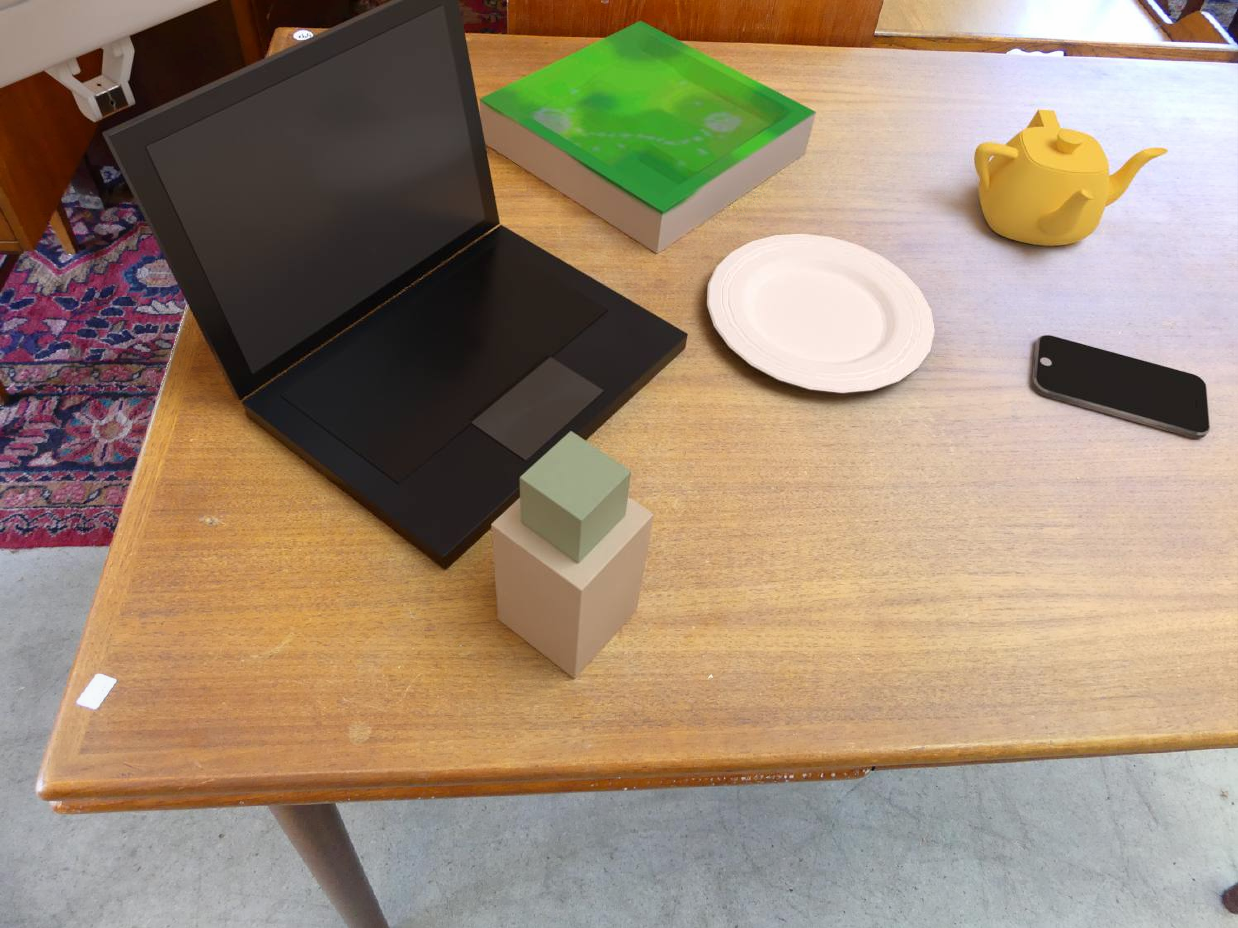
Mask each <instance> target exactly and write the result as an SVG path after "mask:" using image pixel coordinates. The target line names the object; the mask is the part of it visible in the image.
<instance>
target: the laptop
mask: <svg viewBox="0 0 1238 928" xmlns="http://www.w3.org/2000/svg"><path fill="white" fill-rule="evenodd" d="M688 335H689V334H688V333H687V332H685V331H684V330H682V329H681V328H679V327H677V326H675V325H674V324H672V323H671V322H668V321H667V320H665V319H664V318H662V317H660V316H658V315H656V314H655V313H653V312H652V311H650V310H648V309H646V308H644V307H643V306H641V305H640V304H638V303H636V302H634V301H633V300H631V299H629V298H628V297H626V296H624V295H622V294H621V293H619V292H617V291H616V290H614V289H612V288H610V287H609V286H607V285H606V284H604V283H601V282H600V281H599V280H597V279H595V278H593V277H591V276H590V275H589V274H587V273H585V272H583V271H582V270H580V269H578V268H577V267H575V266H573V265H571V264H569V263H567V261H564V260H562V259H561V258H559V257H557V256H555V255H554V254H552V253H550V252H548V251H547V250H545V249H544V248H542V247H541V246H539V245H537V244H535V243H534V242H532V241H530V240H528V239H527V238H526V237H523V236H521V235H520V234H518V233H517V232H515V231H514V230H512V229H509V228H508V227H506V226H504V225H503V224H499V225H497V226H496V227H494V228H493V229H491V230H490V231H489V232H487V233H486V234H484V235H483V236H481V237H480V238H478V239H477V240H475V241H474V242H472V243H471V244H469V245H468V246H467V247H465V248H464V249H462V250H461V251H459V252H458V253H456V254H455V255H453V256H452V257H450V258H449V259H448V260H446V261H445V262H443V263H442V264H440V265H439V266H437V267H436V268H434V269H433V270H431V271H430V272H428V273H427V274H426V275H424V276H423V277H421V278H420V279H418V280H417V281H415V282H414V283H412V284H411V285H409V286H408V287H407V288H405V289H404V290H402V291H401V292H399V293H398V294H396V295H395V296H393V297H392V298H390V299H389V300H387V301H386V302H385V303H383V304H382V305H380V306H379V307H377V308H376V309H374V310H373V311H371V312H370V313H368V314H367V315H366V316H364V317H363V318H361V319H360V320H358V321H357V322H355V323H354V324H352V325H351V326H349V327H348V328H346V329H345V330H344V331H342V332H341V333H339V334H338V335H336V336H335V337H333V338H332V339H330V340H329V341H327V342H326V343H325V344H323V345H322V346H320V347H319V348H317V349H316V350H314V351H313V352H311V353H310V354H308V355H307V356H305V357H304V358H303V359H301V360H300V361H298V362H297V363H295V364H294V365H292V366H291V367H289V368H288V369H286V370H285V371H284V372H282V373H281V374H279V375H278V376H276V377H275V378H273V379H272V380H270V381H269V382H267V383H266V384H265V385H263V386H262V387H260V388H259V389H257V390H256V391H254V392H253V393H251V394H250V395H248V396H247V397H245V398H244V399H243V400H241V404H242V408H243V410H244V412H245V415H246V417H247V418H249V420H251V421H252V422H254V423H255V424H256V425H257V426H259V427H260V428H261V429H262V430H264V431H265V432H267V433H268V435H270V436H272V437H273V438H274V439H275V440H277V441H278V442H279V443H281V444H282V445H283V446H284V447H286V448H287V449H289V451H291V452H292V453H294V455H296V456H298V458H300V459H302V460H303V461H304V462H305V463H307V464H308V465H309V466H310V467H312V468H313V469H314V470H315V471H317V472H318V473H319V474H320V475H322V476H324V477H325V478H326V480H328V481H329V482H331V483H333V484H334V485H335V486H336V487H337V488H338V489H340V490H341V491H343V492H344V493H345V494H346V495H348V496H349V497H351V499H353V500H354V501H356V502H357V503H358V504H359V505H361V506H362V507H364V509H366V510H367V511H368V512H370V513H371V514H372V515H373V516H375V517H376V518H378V519H379V520H380V521H381V522H383V523H384V524H385V525H387V526H388V527H389V528H391V530H393V531H394V532H395V533H396V534H398V535H399V536H401V537H402V538H404V539H405V540H406V541H407V542H409V543H410V544H411V545H412V546H413V547H415V548H417V550H419V551H420V552H421V553H423V554H424V555H426V557H428V558H429V559H431V560H432V561H433V562H434V563H435V564H437V565H438V566H439V567H440V568H442V569H444V570H448V569H449V567H451V566H452V565H453V564H454V563H455V562H456V561H458V559H459V558H461V557H462V555H464V554H465V553H466V552H467V551H468V550H469V549H470V548H471V547H472V546H474V545H475V544H476V543H477V542H478V541H479V540H481V538H482V537H483V536H484V535H486V533H487V532H489V530H491V524H492V523H493V522H494V521H495V520H496V519H497V518H498V517H499V516H501V515H502V514H503V513H504V512H505V511H506V510H507V509H508V508H509V507H510V506H511V505H512V504H514V503H515V502H516V501H517V500H518V499H519V498H520V476H522V475H523V474H524V473H525V472H526V471H527V470H528V469H529V468H530V467H532V466H533V465H534V464H535V463H536V462H537V461H538V460H539V459H540V458H541V457H543V456H544V455H545V454H546V453H547V452H548V451H549V450H550V449H551V448H553V447H554V446H555V445H556V444H557V443H558V442H559V441H560V440H561V439H562V438H564V437H565V436H566V435H567V434H568V433H569V432H570V431H572V432H573V433H575V434H576V435H578V436H579V437H581V438H582V439H584V440H585V441H587V440H588V439H590V437H591V436H593V434H594V433H596V431H598V430H599V429H600V428H601V427H602V426H603V425H604V424H605V423H606V422H607V421H609V419H611V418H612V417H613V416H614V415H616V413H617V412H618V411H619V410H621V409H622V408H623V407H624V406H625V405H626V404H627V403H628V402H629V401H630V400H631V399H632V398H634V396H636V395H637V393H639V392H640V391H641V390H642V389H643V388H644V387H645V386H647V384H649V382H651V381H652V380H653V379H654V378H655V377H656V376H657V375H658V374H659V373H660V372H662V370H664V368H666V366H668V365H669V364H670V363H671V362H672V361H673V360H674V359H675V358H676V357H678V355H680V354H681V353H682V352H683V351H684V350H685V349H686V347H687V341H688Z"/></svg>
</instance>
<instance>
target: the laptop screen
mask: <svg viewBox="0 0 1238 928" xmlns="http://www.w3.org/2000/svg"><path fill="white" fill-rule="evenodd" d="M462 15H463V14H462V10H461V4H460V0H389V1H387V2H385V3H382V4H381V5H378V6H376V7H374V8H371V9H370V10H368V11H367V10H366V11H365V12H363V13H361V14H359V15H356V16H354V17H352V18H350V19H348V20H346V21H344V22H341V23H339V24H336V25H335V26H332V27H330V28H327V29H326V30H324V31H322V32H319V33H317V34H315V35H313V36H311V37H307V38H306V39H304V40H302V41H300V42H297V43H295V44H293V45H291V46H289V47H286V48H284V49H282V50H279V51H278V52H275V53H273V54H271V55H269V56H266V57H265V58H262V59H260V60H258V61H255V62H253V63H251V64H249V65H247V66H245V67H242V68H241V69H238V70H236V71H234V72H232V73H230V74H227V75H225V76H223V77H220V78H219V79H216V80H214V81H212V82H210V83H208V84H205V85H203V86H201V87H198V88H196V89H195V90H192V91H189V92H187V93H185V94H183V95H181V96H179V97H177V98H175V99H172V100H170V101H168V102H166V103H164V104H161V105H159V106H157V107H155V108H153V109H151V110H148V111H146V112H144V113H142V114H139V115H138V116H137V115H136V116H135V117H133V118H131V119H128V120H126V121H124V122H122V123H119V124H118V125H116V126H113V127H111V128H109V129H107V130H105V131H103V132H102V136H103V139H104V140H105V142H106V144H107V146H108V148H109V150H110V152H111V154H112V156H113V158H114V160H115V162H116V164H117V166H118V168H119V170H120V172H121V174H122V176H123V179H124V181H125V182H126V183H127V186H128V188H129V190H130V193H132V196H133V198H134V200H135V202H136V203H137V206H138V208H139V210H140V212H141V214H142V215H143V217H144V220H145V222H146V224H147V225H148V228H149V230H150V232H151V234H152V236H153V238H154V240H155V242H156V243H157V246H158V248H159V249H160V252H161V254H162V256H163V258H164V259H165V262H166V264H167V266H168V268H169V269H170V272H171V274H172V276H173V277H174V280H175V282H176V284H177V286H178V288H179V290H180V292H181V294H182V296H183V297H184V300H185V303H186V304H187V306H188V308H189V309H190V312H191V314H192V316H193V318H194V320H195V322H196V323H197V326H198V327H199V329H200V331H201V334H202V336H203V338H204V339H205V342H206V344H207V346H208V348H209V349H210V351H211V354H212V355H213V357H214V359H215V362H216V363H217V365H218V367H219V370H220V372H221V374H222V375H223V377H224V379H225V381H226V384H227V386H228V388H229V390H230V392H231V393H232V396H233V397H234V398H235V399H236V400H238V401H239V402H240V401H241V402H242V401H243V400H245V399H246V398H247V397H249V396H250V395H252V394H253V393H255V392H256V391H258V390H259V389H261V388H262V387H264V386H265V385H267V384H268V383H269V382H271V381H272V380H274V379H275V378H277V377H278V376H280V375H281V374H283V373H284V372H286V371H287V370H289V369H290V368H291V367H293V366H294V365H296V364H297V363H299V362H300V361H302V360H303V359H305V358H306V357H308V356H309V355H311V354H312V353H313V352H315V351H316V350H318V349H319V348H321V347H322V346H324V345H325V344H327V343H328V342H330V341H331V340H333V339H334V338H335V337H337V336H338V335H340V334H341V333H343V332H344V331H346V330H347V329H349V328H350V327H352V326H353V325H355V324H356V323H357V322H359V321H360V320H362V319H363V318H365V317H366V316H368V315H369V314H371V313H372V312H374V311H375V310H377V309H378V308H379V307H381V306H382V305H384V304H385V303H387V302H388V301H390V300H391V299H393V298H394V297H396V296H397V295H399V294H400V293H402V292H403V291H404V290H406V289H407V288H409V287H410V286H412V285H413V284H415V283H416V282H418V281H419V280H421V279H422V278H424V277H425V276H426V275H428V274H429V273H431V272H432V271H434V270H435V269H437V268H438V267H440V266H441V265H443V264H444V263H446V262H447V261H448V260H450V259H451V258H453V257H454V256H456V255H457V254H459V253H460V252H462V251H463V250H465V249H466V248H468V247H469V246H470V245H472V244H473V243H475V242H476V241H478V240H479V239H481V238H482V237H484V236H485V235H487V234H488V233H490V232H491V231H492V230H494V229H495V228H497V227H498V226H500V225H501V221H500V217H499V216H500V215H499V210H498V206H497V199H496V195H495V189H494V184H493V178H492V174H491V173H492V172H491V168H490V162H489V157H488V156H489V155H488V150H487V145H486V144H485V140H484V134H483V129H482V123H481V114H480V106H479V102H478V97H477V92H476V86H475V85H476V84H475V80H474V75H473V70H472V64H471V60H470V53H469V47H468V42H467V37H466V31H465V26H464V21H463V16H462Z"/></svg>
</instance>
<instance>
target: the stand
mask: <svg viewBox="0 0 1238 928" xmlns="http://www.w3.org/2000/svg"><path fill="white" fill-rule="evenodd" d="M654 516H655V514H654V513H653V512H652V511H651V510H649V509H647V508H646V507H644V506H643V505H642V504H640V503H639V502H637V501H635V500H634V499H633V498H631V497H629V496H628V500H627V507H626V515H625V516H624V517H623V518H622V519H621V520H620V521H619V523H618V524H617V525H616V526H615V527H614V528H613V529H612V530H611V531H610V532H609V533H608V534H607V535H606V536H605V537H604V538H603V539H602V540H601V541H600V542H599V543H598V544H597V545H596V546H595V547H594V548H593V549H592V550H591V551H590V552H589V553H588V554H587V555H586V556H585V557H584V559H583V560H582V561H581V562H580V563H577V562H576V561H574V560H573V559H571V558H570V557H569V556H567V555H566V554H565V553H563V552H562V551H560V550H559V549H558V548H556V547H555V546H554V545H552V544H551V543H549V542H548V541H547V540H545V539H544V538H542V537H541V536H540V535H538V534H537V533H536V532H534V531H533V530H531V529H530V528H529V527H527V526H526V525H524V524H523V523H522V522H521V510H520V498H519V499H518V500H517V501H516V502H515V503H514V504H512V505H511V506H510V507H509V508H508V509H507V510H506V511H505V512H504V513H503V514H502V515H501V516H499V517H498V518H497V519H496V520H495V521H494V522H493V523H492V524H491V528H490V530H491V541H492V555H493V569H494V583H495V594H496V595H495V596H496V607H497V608H496V610H497V620H498V621H500V623H502V624H503V625H504V626H506V627H507V628H508V629H509V630H511V631H513V633H514V634H516V635H518V636H519V637H520V638H521V639H523V640H524V641H525V642H526V643H528V644H529V645H530V646H531V647H533V648H534V649H535V650H536V651H538V652H539V653H541V654H542V655H543V656H545V657H546V658H547V659H548V660H550V661H551V663H553V664H555V665H556V666H557V667H559V668H560V669H561V670H562V671H564V672H565V673H566V674H568V675H569V676H570V677H572V678H573V679H577V678H578V677H579V675H580V674H581V673H582V672H583V671H584V670H585V669H586V667H587V666H588V665H589V664H590V663H591V662H592V661H593V659H595V657H596V656H598V654H599V652H601V650H602V649H603V648H604V647H605V646H606V645H607V644H608V643H609V641H610V640H612V638H613V637H614V636H615V635H616V634H617V633H618V632H619V630H621V628H622V627H623V626H624V625H625V623H627V621H628V620H629V619H630V618H631V617H632V616H633V614H634V613H635V612H636V611H637V610H638V607H639V600H640V595H641V591H642V583H643V577H644V574H645V569H646V561H647V556H648V550H649V545H650V538H651V533H652V528H653V522H654Z"/></svg>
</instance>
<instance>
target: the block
mask: <svg viewBox="0 0 1238 928" xmlns="http://www.w3.org/2000/svg"><path fill="white" fill-rule="evenodd" d="M631 477H632V470H631V469H629V468H627V467H626V466H625V465H623V464H621V463H620V462H619V461H617V460H615V459H614V458H612V457H611V456H609V455H608V454H607V453H605V452H604V451H602V450H601V449H599V448H598V447H596V446H595V445H593V444H591V443H590V442H589V441H587V440H586V441H585V440H584V439H582V438H581V437H579V436H578V435H576V434H575V433H573V432H572V431H570V432H569V433H568V434H567V435H566V436H565V437H564V438H562V439H561V440H560V441H559V442H558V443H557V444H556V445H555V446H554V447H553V448H551V449H550V450H549V451H548V452H547V453H546V454H545V455H544V456H543V457H541V458H540V459H539V460H538V461H537V462H536V463H535V464H534V465H533V466H532V467H530V468H529V469H528V470H527V471H526V472H525V473H524V474H523V475H522V476H520V510H521V522H522V523H523V524H524V525H526V526H527V527H529V528H530V529H531V530H533V531H534V532H536V533H537V534H538V535H540V536H541V537H542V538H544V539H545V540H547V541H548V542H549V543H551V544H552V545H554V546H555V547H556V548H558V549H559V550H560V551H562V552H563V553H565V554H566V555H567V556H569V557H570V558H571V559H573V560H574V561H576V562H577V563H580V562H581V561H582V560H583V559H584V557H585V556H586V555H587V554H588V553H589V552H590V551H591V550H592V549H593V548H594V547H595V546H596V545H597V544H598V543H599V542H600V541H601V540H602V539H603V538H604V537H605V536H606V535H607V534H608V533H609V532H610V531H611V530H612V529H613V528H614V527H615V526H616V525H617V524H618V523H619V521H620V520H621V519H622V518H623V517H624V516H625V515H626V507H627V500H628V497H629V492H630V484H631Z"/></svg>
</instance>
